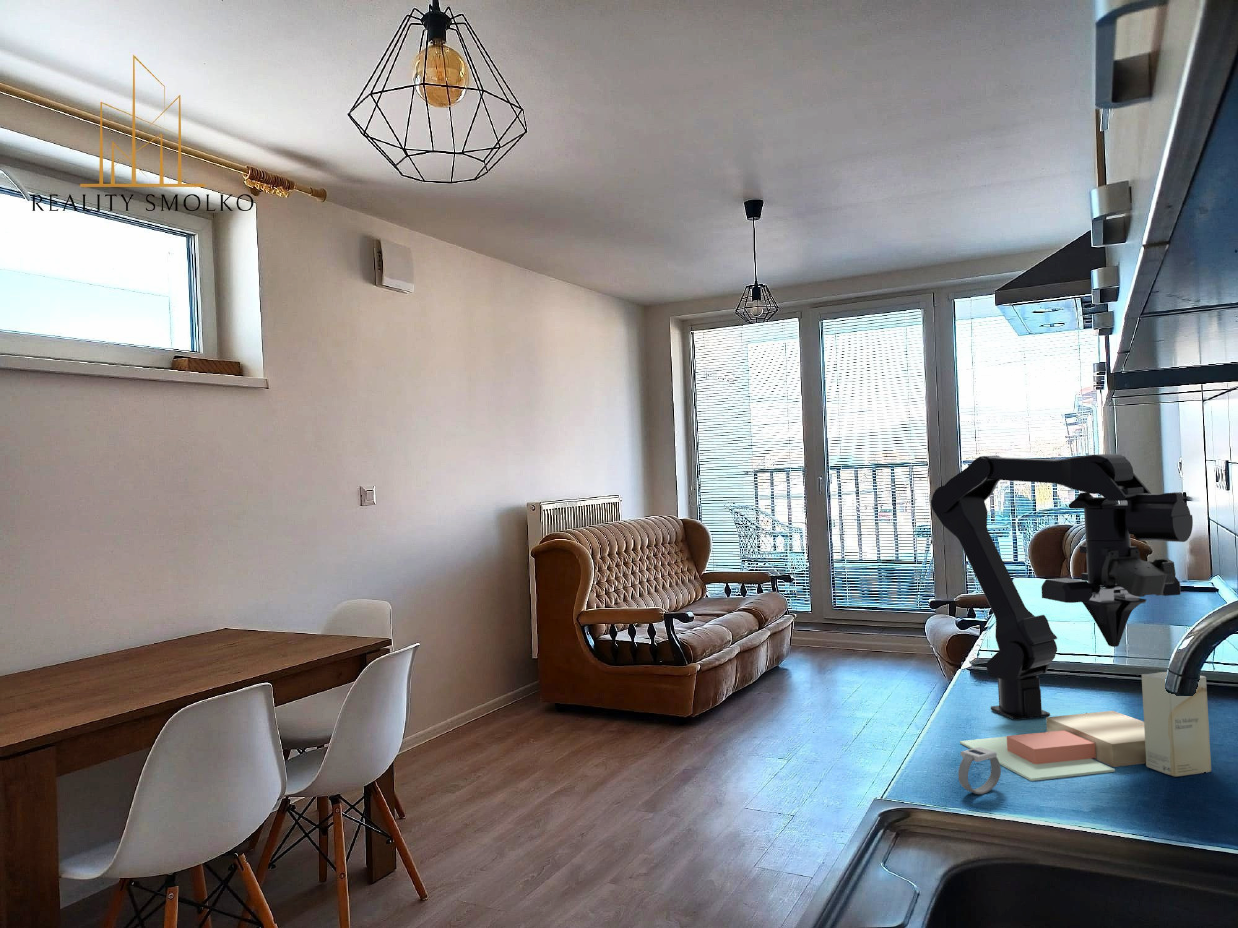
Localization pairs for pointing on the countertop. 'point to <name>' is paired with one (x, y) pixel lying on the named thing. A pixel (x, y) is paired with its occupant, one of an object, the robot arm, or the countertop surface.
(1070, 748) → the salmon pink brick
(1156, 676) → the skincare box
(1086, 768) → the mat
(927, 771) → the countertop surface
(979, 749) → the wristwatch
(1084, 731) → the board
